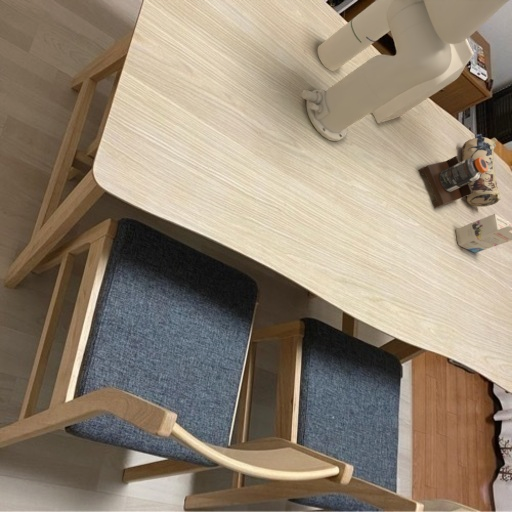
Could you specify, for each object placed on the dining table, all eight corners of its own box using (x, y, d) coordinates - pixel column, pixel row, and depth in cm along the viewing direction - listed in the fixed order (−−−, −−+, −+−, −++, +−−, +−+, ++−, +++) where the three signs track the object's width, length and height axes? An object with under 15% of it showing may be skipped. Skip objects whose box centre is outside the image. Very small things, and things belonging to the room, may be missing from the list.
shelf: (434, 208, 151) (454, 199, 146) (418, 170, 151) (437, 160, 147) (454, 201, 159) (473, 192, 155) (438, 164, 160) (457, 155, 156)
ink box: (472, 237, 159) (523, 218, 149) (475, 253, 157) (526, 235, 147) (454, 228, 154) (506, 208, 144) (457, 245, 152) (509, 226, 142)
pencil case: (455, 142, 171) (485, 127, 164) (471, 155, 176) (501, 141, 169) (461, 204, 161) (493, 190, 154) (478, 215, 166) (510, 203, 159)
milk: (398, 117, 154) (487, 64, 135) (377, 123, 145) (469, 68, 127) (379, 76, 154) (465, 18, 135) (357, 81, 145) (446, 19, 127)
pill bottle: (452, 196, 153) (491, 178, 145) (438, 185, 150) (478, 167, 142) (451, 178, 156) (490, 160, 148) (438, 167, 153) (477, 148, 145)
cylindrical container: (338, 75, 140) (424, 14, 123) (317, 62, 136) (403, -4, 119) (337, 53, 143) (420, -11, 126) (316, 39, 139) (400, -28, 122)
